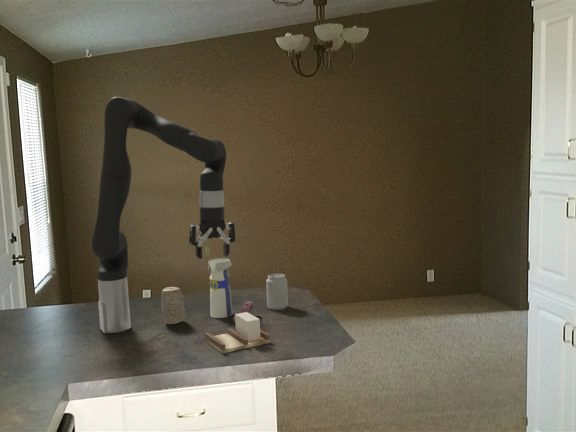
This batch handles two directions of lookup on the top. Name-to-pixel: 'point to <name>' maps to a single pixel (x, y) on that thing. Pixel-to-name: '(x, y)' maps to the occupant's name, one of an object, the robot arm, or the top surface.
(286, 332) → the top surface
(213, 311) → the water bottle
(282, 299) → the can
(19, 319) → the top surface
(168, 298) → the carving
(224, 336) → the slot rack
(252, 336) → the plug block
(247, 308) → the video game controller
